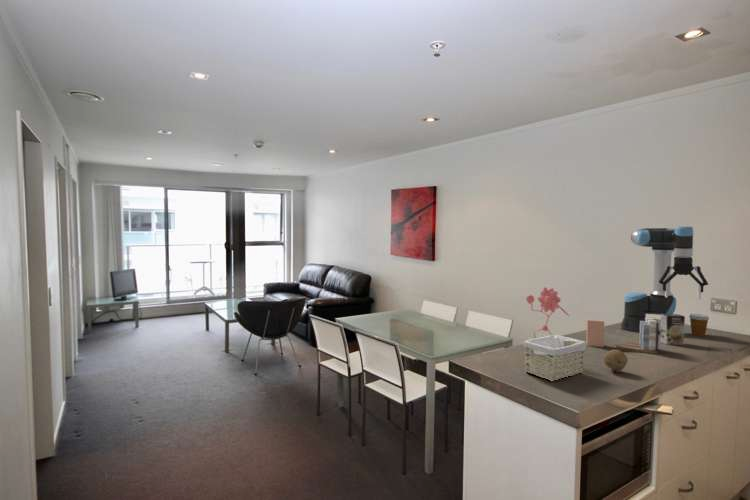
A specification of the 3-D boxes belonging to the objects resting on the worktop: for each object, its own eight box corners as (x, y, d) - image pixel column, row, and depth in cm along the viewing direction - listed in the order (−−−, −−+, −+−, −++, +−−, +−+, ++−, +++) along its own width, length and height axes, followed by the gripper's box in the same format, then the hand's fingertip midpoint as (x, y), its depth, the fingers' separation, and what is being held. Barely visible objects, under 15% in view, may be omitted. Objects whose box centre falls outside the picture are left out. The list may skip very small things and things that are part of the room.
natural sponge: (621, 376, 176) (621, 354, 176) (599, 371, 183) (600, 349, 183) (630, 372, 182) (630, 350, 181) (609, 367, 189) (609, 345, 188)
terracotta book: (586, 343, 229) (586, 318, 229) (602, 344, 226) (603, 319, 225) (587, 345, 225) (587, 320, 224) (603, 347, 222) (604, 321, 221)
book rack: (614, 344, 227) (614, 314, 226) (652, 347, 220) (653, 317, 219) (617, 350, 216) (618, 319, 215) (657, 354, 209) (658, 322, 208)
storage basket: (554, 364, 194) (555, 333, 193) (587, 374, 180) (588, 341, 179) (521, 373, 181) (521, 340, 180) (553, 384, 167) (554, 349, 167)
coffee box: (666, 344, 226) (667, 316, 225) (659, 341, 233) (660, 313, 232) (684, 345, 225) (685, 316, 225) (676, 342, 232) (677, 313, 231)
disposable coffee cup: (685, 333, 250) (685, 314, 249) (694, 332, 254) (694, 313, 253) (702, 337, 241) (703, 317, 241) (711, 335, 245) (712, 316, 245)
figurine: (560, 366, 189) (562, 291, 188) (518, 352, 212) (519, 285, 211) (582, 362, 196) (584, 289, 194) (539, 348, 219) (540, 283, 218)
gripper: (655, 257, 210) (654, 297, 212) (716, 257, 199) (715, 300, 201) (652, 255, 217) (652, 295, 218) (711, 256, 206) (710, 298, 207)
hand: (682, 298), depth 209 cm, fingers open, 13 cm apart
